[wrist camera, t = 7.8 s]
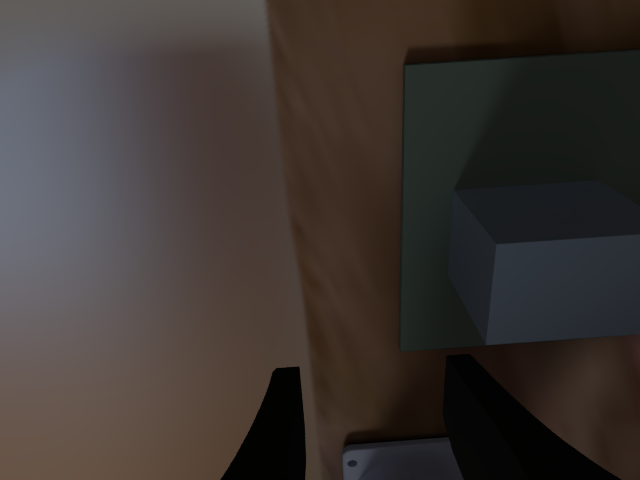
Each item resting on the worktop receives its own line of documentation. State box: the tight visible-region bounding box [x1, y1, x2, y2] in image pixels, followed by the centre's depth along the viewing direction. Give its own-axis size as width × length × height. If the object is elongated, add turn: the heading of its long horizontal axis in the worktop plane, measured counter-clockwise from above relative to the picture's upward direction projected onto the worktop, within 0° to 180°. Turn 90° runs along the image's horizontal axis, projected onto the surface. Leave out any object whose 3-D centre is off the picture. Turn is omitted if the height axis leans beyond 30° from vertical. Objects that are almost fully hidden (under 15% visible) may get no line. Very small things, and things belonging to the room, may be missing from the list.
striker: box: [448, 180, 640, 345], centre depth 20 cm, size 4×6×5 cm, turn 93°
